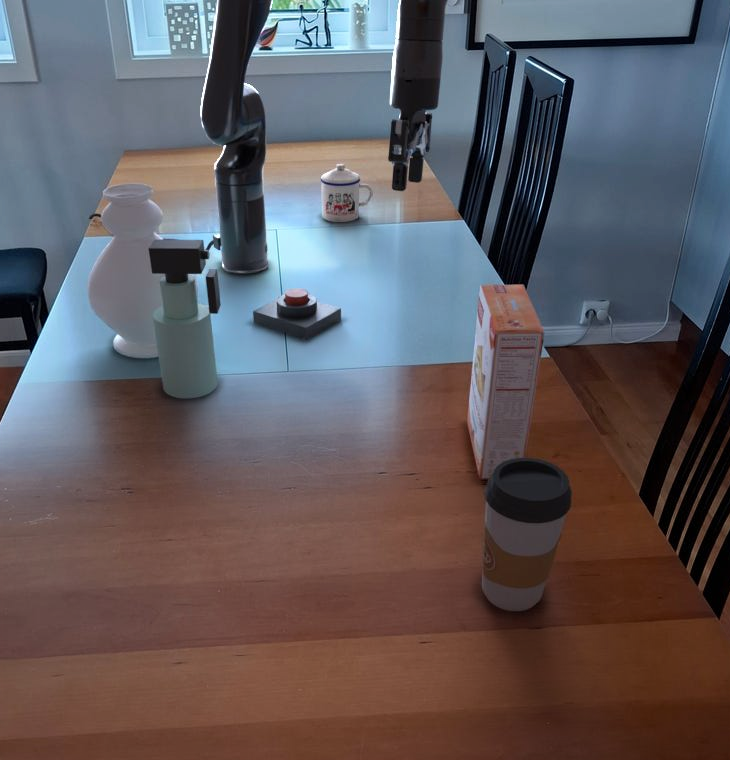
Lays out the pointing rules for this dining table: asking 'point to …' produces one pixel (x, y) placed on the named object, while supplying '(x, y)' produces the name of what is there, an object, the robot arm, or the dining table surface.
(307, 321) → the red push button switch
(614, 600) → the dining table surface
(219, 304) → the trigger
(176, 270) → the spray bottle
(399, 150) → the robot arm
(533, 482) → the coffee cup
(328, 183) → the teacup with lid
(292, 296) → the button
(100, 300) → the decorative vase
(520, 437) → the cracker box
